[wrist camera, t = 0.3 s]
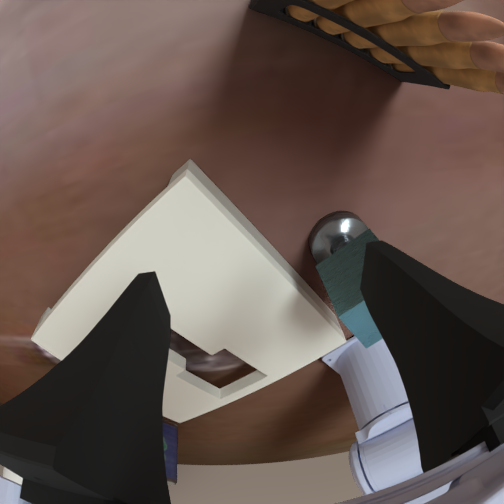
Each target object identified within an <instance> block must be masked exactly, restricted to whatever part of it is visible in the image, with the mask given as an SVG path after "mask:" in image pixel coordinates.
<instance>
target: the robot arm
mask: <svg viewBox="0 0 504 504" xmlns="http://www.w3.org/2000/svg"><path fill="white" fill-rule="evenodd" d="M360 290H361V293H362V295H363V298H364V301H365V303H366V306H367V309H368V311H369V313H370V315H371V317H372V319H373V321H374V323H375V325H376V327H377V328H378V330H379V332H380V334H381V336H382V338H383V339H381V340H380V341H378V342H376V343H375V344H373V345H372V346H370V347H368V348H367V349H366V348H365V347H364V346H363V345H362V343H361V342H360V341H359V340H358V339H357V338H356V337H355V336H354V337H352V338H350V339H349V340H347V342H346V343H344V344H342V345H341V346H339V347H337V348H336V349H334V350H332V351H330V352H329V353H327V354H325V355H323V356H322V357H321V358H322V361H324V362H325V363H326V364H327V365H328V366H330V367H331V368H332V369H333V370H335V371H336V372H337V373H338V374H340V375H341V378H342V381H343V384H344V387H345V390H346V392H347V395H348V398H349V401H350V404H351V407H352V410H353V413H354V416H355V419H356V422H357V425H358V428H359V431H358V432H356V433H355V435H356V438H357V441H356V442H354V443H353V444H352V446H351V449H350V451H349V464H350V468H351V472H352V475H353V478H354V480H355V482H356V484H357V486H358V488H359V489H360V491H361V492H362V493H363V495H364V496H361V497H358V498H354V499H351V500H347V501H343V502H340V503H336V504H504V304H501V303H499V302H496V301H493V300H491V299H488V298H486V297H484V296H481V295H479V294H477V293H475V292H473V291H471V290H469V289H466V288H464V287H462V286H460V285H458V284H456V283H455V282H453V281H451V280H449V279H447V278H446V277H444V276H442V275H440V274H439V273H437V272H435V271H433V270H432V269H430V268H428V267H427V266H425V265H423V264H422V263H420V262H418V261H417V260H415V259H414V258H412V257H410V256H409V255H407V254H405V253H404V252H402V251H400V250H399V249H397V248H395V247H393V246H392V245H390V244H388V243H386V242H384V241H375V242H367V243H366V250H365V257H364V265H363V272H362V278H361V285H360ZM170 333H171V315H170V312H169V309H168V307H167V304H166V301H165V298H164V295H163V292H162V290H161V287H160V284H159V281H158V278H157V275H156V272H155V271H153V272H146V273H139V274H138V275H137V276H136V277H135V278H134V279H133V280H132V282H131V283H130V284H129V285H128V287H127V288H126V289H125V290H124V292H123V293H122V294H121V295H120V297H119V298H118V299H117V300H116V301H115V303H114V304H113V305H112V306H111V308H110V309H109V310H108V311H107V313H106V314H105V315H104V316H103V317H102V319H101V320H100V321H99V322H98V323H97V324H96V325H95V327H94V328H93V329H92V330H91V331H90V332H89V334H88V335H87V336H86V337H85V338H84V339H83V340H82V341H81V342H80V343H79V344H78V345H77V346H76V347H75V348H74V349H73V350H72V351H71V352H70V353H69V354H68V355H67V356H66V357H65V358H64V359H63V360H62V361H61V362H59V363H58V364H57V365H56V366H55V367H54V368H53V369H51V370H50V371H49V372H48V373H47V374H46V375H45V376H43V377H42V378H41V379H40V380H38V381H37V382H36V383H34V384H33V385H32V386H30V387H29V388H28V389H26V390H25V391H23V392H22V393H20V394H19V395H17V396H16V397H14V398H13V399H11V400H10V401H8V402H6V403H5V404H3V405H1V406H0V464H1V465H2V466H4V467H5V468H7V469H9V470H10V471H12V472H13V473H15V474H17V475H18V476H20V477H22V478H23V480H22V485H21V484H18V483H16V482H14V481H12V480H9V479H7V478H5V477H2V476H0V504H171V502H170V496H169V490H168V483H167V476H166V467H165V457H164V443H163V412H162V407H163V393H164V385H165V377H166V370H167V362H168V355H169V347H170Z"/></svg>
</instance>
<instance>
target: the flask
mask: <svg viewBox="0 0 504 504" xmlns="http://www.w3.org/2000/svg"><path fill="white" fill-rule="evenodd" d="M163 443H164V457H165V467H166V476H167V483H168V485H175V484H176V483H177V447H178V446H177V444H178V425H176V424H174V423H172V422H169V421H166V420H164V419H163Z"/></svg>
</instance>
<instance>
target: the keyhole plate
mask: <svg viewBox="0 0 504 504" xmlns="http://www.w3.org/2000/svg"><path fill="white" fill-rule="evenodd" d="M153 271H155V272H156V275H157V278H158V281H159V284H160V287H161V290H162V292H163V295H164V298H165V301H166V304H167V307H168V309H169V312H170V315H171V329H173V330H174V331H175V332H177V333H178V334H180V335H181V336H183V337H184V338H186V339H187V340H189V341H190V342H192V343H193V344H195V345H196V346H198V347H200V348H201V349H203V350H204V351H206V352H207V353H209V354H210V355H214V354H215V353H217V352H219V351H221V350H222V349H224V348H225V349H226V350H228V351H229V352H231V353H232V354H234V355H236V356H237V357H239V358H240V359H242V360H243V361H245V362H246V363H248V364H250V365H251V366H253V367H254V368H256V369H258V370H256V371H254V372H253V373H251V374H249V375H247V376H245V377H243V378H241V379H239V380H237V381H235V382H233V383H231V384H229V385H227V386H224V387H222V388H220V389H219V388H217V387H215V386H213V385H212V384H210V383H208V382H206V381H204V380H202V379H201V378H199V377H197V376H195V375H193V374H192V373H190V372H188V371H186V358H184V357H182V356H181V355H179V354H178V353H176V352H174V351H173V350H171V349H170V348H169V355H168V362H167V370H166V377H165V385H164V393H163V407H162V412H163V416H164V417H167V418H169V419H171V420H174V421H176V422H178V423H181V422H184V421H187V420H189V419H192V418H194V417H197V416H199V415H202V414H204V413H207V412H209V411H212V410H214V409H216V408H219V407H221V406H223V405H226V404H228V403H230V402H232V401H235V400H237V399H239V398H241V397H244V396H246V395H248V394H250V393H252V392H254V391H256V390H258V389H261V388H263V387H265V386H267V385H269V384H271V383H273V382H275V381H277V380H279V379H281V378H283V377H285V376H287V375H288V374H290V373H292V372H294V371H296V370H298V369H300V368H302V367H304V366H305V365H307V364H309V363H311V362H313V361H315V360H316V359H318V358H320V357H322V356H323V355H325V354H327V353H329V352H330V351H332V350H334V349H336V348H337V347H339V346H341V345H342V344H344V343H346V342H347V341H346V339H345V336H344V334H343V332H342V329H341V327H340V325H339V322H338V320H337V318H336V315H335V314H334V313H333V312H332V311H331V310H330V309H329V307H328V306H327V305H326V304H325V303H324V302H323V301H322V300H321V299H320V297H319V296H318V295H317V294H316V293H315V292H314V291H313V290H312V289H311V288H310V286H309V285H308V284H307V283H306V282H305V281H304V280H303V279H302V278H301V277H300V275H299V274H298V273H297V272H296V271H295V270H294V269H293V268H292V267H291V266H290V265H289V263H288V262H287V261H286V260H285V259H284V258H283V257H282V256H281V255H280V254H279V253H278V252H277V250H276V249H275V248H274V247H273V246H272V245H271V244H270V243H269V242H268V241H267V240H266V239H265V237H264V236H263V235H262V234H261V233H260V232H259V231H258V230H257V229H256V228H255V227H254V226H253V225H252V223H251V222H250V221H249V220H248V219H247V218H246V217H245V216H244V215H243V214H242V213H241V212H240V211H239V210H238V209H237V207H236V206H235V205H234V204H233V203H232V202H231V201H230V200H229V199H228V198H227V197H226V196H225V195H224V194H223V193H222V192H221V190H220V189H219V188H218V187H217V186H216V185H215V184H214V183H213V182H212V181H211V180H210V179H209V178H208V177H207V176H206V175H205V174H204V173H203V172H202V170H201V169H200V168H199V167H198V166H197V165H196V164H195V163H194V162H193V161H192V160H191V159H189V160H188V161H187V162H186V163H185V164H184V165H183V166H181V167H180V168H179V169H178V170H177V171H176V172H175V173H174V174H173V175H172V177H171V179H170V182H169V184H168V187H166V188H165V189H164V190H163V191H162V192H161V193H160V194H159V195H158V196H157V197H156V198H155V199H154V200H152V201H151V202H150V203H149V204H148V205H147V206H146V207H145V208H144V209H143V210H142V211H141V212H140V213H139V214H138V215H137V216H136V217H135V218H134V219H133V220H132V221H131V222H130V223H129V224H128V225H127V226H126V227H125V228H124V229H123V230H122V231H121V232H120V233H119V234H118V235H117V236H116V237H115V238H114V239H113V240H112V241H111V242H110V243H109V244H108V245H107V246H106V247H105V249H104V250H103V251H102V252H101V253H100V254H99V255H98V256H97V257H96V258H95V259H94V260H93V261H92V263H91V264H90V265H89V266H88V267H87V268H86V269H85V270H84V271H83V273H82V274H81V275H80V276H79V277H78V278H77V279H76V281H75V282H74V283H73V284H72V285H71V286H70V287H69V289H68V290H67V291H66V292H65V293H64V295H63V296H62V297H61V298H60V299H59V301H58V302H57V303H56V304H55V305H54V307H53V308H52V309H50V308H49V307H48V308H47V309H46V311H45V312H44V313H43V315H42V317H41V319H40V321H39V323H38V325H37V327H36V329H35V331H34V333H33V336H32V338H31V340H32V341H34V342H35V343H36V344H38V345H39V346H41V347H42V348H43V349H45V350H46V351H48V352H49V353H51V354H52V355H54V356H55V357H57V358H58V359H60V360H61V361H62V360H63V359H64V358H65V357H66V356H67V355H68V354H69V353H70V352H71V351H72V350H73V349H74V348H75V347H76V346H77V345H78V344H79V343H80V342H81V341H82V340H83V339H84V338H85V337H86V336H87V335H88V334H89V332H90V331H91V330H92V329H93V328H94V327H95V325H96V324H97V323H98V322H99V321H100V320H101V319H102V317H103V316H104V315H105V314H106V313H107V311H108V310H109V309H110V308H111V306H112V305H113V304H114V303H115V301H116V300H117V299H118V298H119V297H120V295H121V294H122V293H123V292H124V290H125V289H126V288H127V287H128V285H129V284H130V283H131V282H132V280H133V279H134V278H135V277H136V276H137V275H138V274H139V273H146V272H153Z"/></svg>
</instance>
